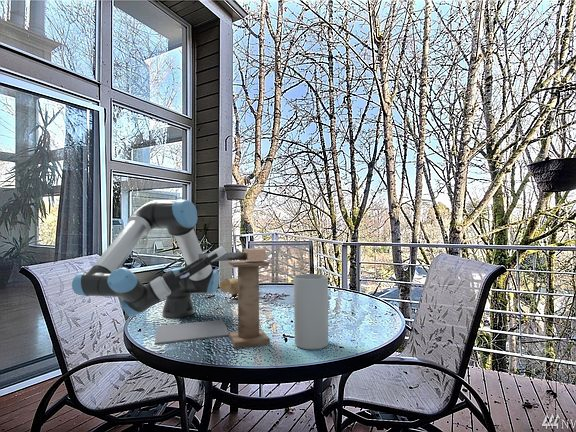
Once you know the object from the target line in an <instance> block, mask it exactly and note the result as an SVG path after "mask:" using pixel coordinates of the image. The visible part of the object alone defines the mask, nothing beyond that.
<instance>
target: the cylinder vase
mask: <svg viewBox="0 0 576 432" xmlns="http://www.w3.org/2000/svg"><path fill="white" fill-rule="evenodd" d="M328 277H329V276H328V275H327V274H326V275H325V274H320V273H318V274H317V273H302V274H297V275H294V276H293V308H294V309H293V313H294V314H293V315H294V316H293V317H294V319H293V322H294V325H293V326H294V329H293V331H294V332H293V333H294V344H295V346H296V347H298V348H299V349H303V350H310V351H311V350H314V351H315V350H321V349H324V348H326V347H327V346H328V345H329V294H328V293H329V288H328V287H329V285H328V284H329V283H328V282H329V280H328V279H329V278H328Z"/></svg>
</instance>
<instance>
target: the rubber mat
mask: <svg viewBox="0 0 576 432" xmlns="http://www.w3.org/2000/svg"><path fill="white" fill-rule="evenodd" d="M229 332H230V331H229V330H228V328H227V325H226V324H225V322H224V320H223V319H217V320H206V321H197V322H196V321H195V322H187V323H186V322H185V323H175V324H165V325H158V326H157V328H156V333H155V340H154V345H162V344H170V343H179V342H189V341H196V340H197V341H198V340H203V339H204V340H207V339H213V338H222V337H229Z"/></svg>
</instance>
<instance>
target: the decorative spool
mask: <svg viewBox="0 0 576 432" xmlns="http://www.w3.org/2000/svg"><path fill="white" fill-rule="evenodd" d="M219 289H220V291H221V292H222V293H223V294H224V293H225V294H226V293H229V294H230V295H231V298H232V297H234V298H235V297H237V298H238V277H234V278H233V277H232V278H229V279H228V278H224V279H222V280H221V281H220V282H219Z"/></svg>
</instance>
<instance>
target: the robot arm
mask: <svg viewBox="0 0 576 432" xmlns="http://www.w3.org/2000/svg"><path fill="white" fill-rule="evenodd" d="M197 223H198V211H197V208H196V206H195V204H194V203H193V202H192V201H191V200H188V199H181V198H178V199H154V200H151V201H149V202H146V203H145V204H143V205H141V206H140V207H139V208H137V209H136V210H135V211H134V212H133V213H132V214H131V215H130V216H129V217H128V218H127V224H126V225H125V227H123V228H122V230H121V231H120V232H119V234H117V236H116V237H115V238H114V239H113V241H112V242H111V243H110V245H108V247H107V249H106V250H105V251H104V252H103V253H102V255H101V256H99V258H98V260H96V261H95V263H94V264H93V265H92V267H91V268H90V269H89V270H88V271H87V272H80V273H78V274H76V275H75V276H74V278H73V279H72V281H71V289H72V292H73V293H75V295H78V296H83V297H110V298H111V297H112V298H113V297H114V298H116V297H117V298H118V297H119V298H121V300H120V305H121V308H122V309H123V311H124V312H125V314H126V315H127V316H128V317H130V318H134V317H136V316H138V315H140V314H142V313H144V312H145V311H147V310H148V309H150V308H151V307H153V306H155V305H156V304H158V303H159V302H160V301H162V300H165V301H164V305H163V307H162V310H161V311H162V314H161V315H162V317H164V318H169V319H179V318H184V317H185V318H187V317H189V316H191V315H193V314H195V307H194V305H193V302H192V298H191V296H192V295H191V294H193V295H194V294H197V295H213V294H215V293H216V292H217V291H218V288H219V286H220V279H221V278H220V272H219V270H218V269H217V270H216V269H213V267H212V265H213V262H215V261H214V260H216V259H218V258H219V257H221V256H223V255H224V254H226V253H228V252H227V251H226V249H225V247H224V246H219V247H218V248H216V249H214V250H213V251H211V252H210V253H211V254H210V255H208V257H206V258H204V259H203V260H201V261H199V254H204V253H203V250H202V248H201V244H200V242H199V239H198V237H197V234H196V232H195V227H196V224H197ZM156 228H162V229H163V228H166V229H167V232H168V234H169V235H170V236H172V237H174V238H175V241H176V242H177V246H178V247H179V250H180V252H181V254H182V256H183V258H184V261H185V264H186V265H185V266H180V267H175V268H170V269H168V270H166V272H165V273H162V276H161V275H160V276H158V277H156V278H154V279H152V280H151V281H150V282H148V283H147V284H143V283H142V282H141V281H140V279H139V278H138V277H137V275H136V274H135V273H134V272H132V271H131V270H130V269H129V268H127V267H122V265H123V264H124V263H125V262H126V260H127V259H128V257H129V256H130V254H131V253H132V251H134V250H135V248H136V247H137V245H138V244H139V243H140V241H141V240H142V239H143V237H144V236H145V235H147V234H149V233H150V232H151V230H153V229H156Z"/></svg>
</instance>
